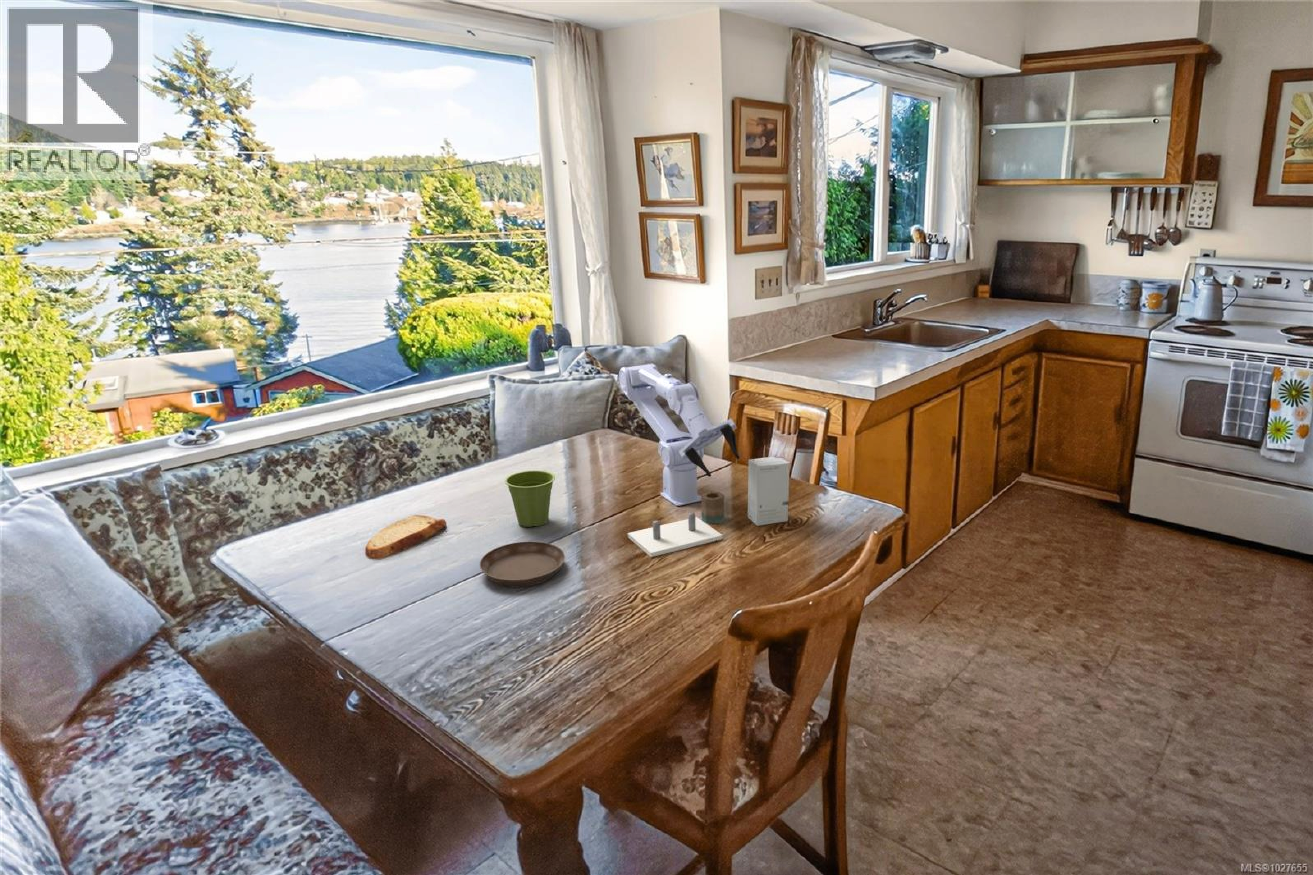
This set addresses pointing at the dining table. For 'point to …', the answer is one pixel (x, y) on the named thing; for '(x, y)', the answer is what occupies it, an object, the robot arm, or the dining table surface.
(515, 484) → the plant pot
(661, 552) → the pin board
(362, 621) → the dining table surface
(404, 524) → the bread slice
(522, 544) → the plant saucer
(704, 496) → the sleeve
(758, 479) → the skincare box
